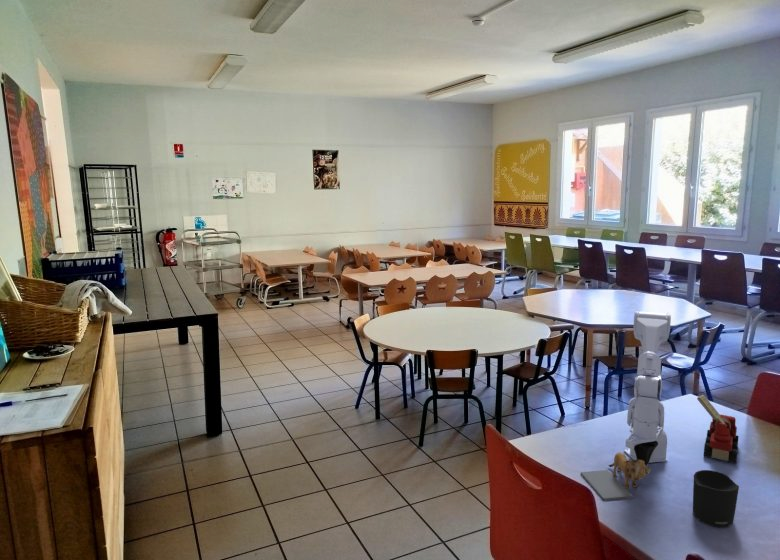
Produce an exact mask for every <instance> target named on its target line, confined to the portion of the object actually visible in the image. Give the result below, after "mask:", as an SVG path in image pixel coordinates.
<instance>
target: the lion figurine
mask: <svg viewBox="0 0 780 560" xmlns="http://www.w3.org/2000/svg"><path fill="white" fill-rule="evenodd" d="M644 463H645V462H644V461H643V460H639V459H638V460H633V459H632V460H631V459H627V456H626V453H625V454H624V453H623V452H617V453H615V455H614V458H613V463H612V464H609V465H607V466H608V467H609V468H612V467H613V470H612V471H613V472H612V475H613V476H614V477H615V478H617V477H618V475H617V471H618V472H622V473H623V474H624V480H625V481H624V487H625V488H626V489H627V490H631V488H630V487H631V486H632V487H634V488H637V487H638V484H637V483H636V482H637V481H640V479H644V478H645V477H646V475H647V476H648V475H649V473H651V470H652V469H651V467H648V465H647V466H646V465H645V464H644ZM630 480H631V486H630Z"/></svg>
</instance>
